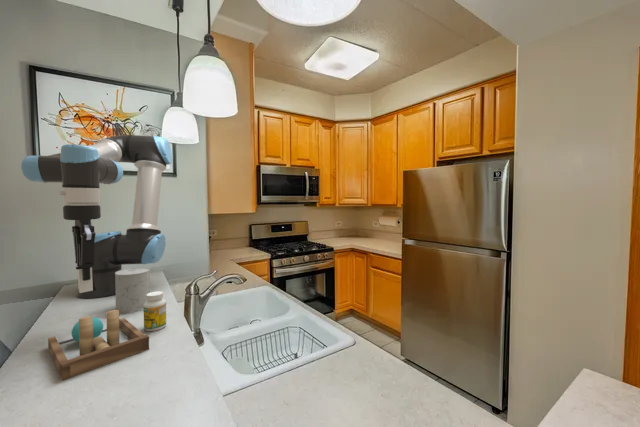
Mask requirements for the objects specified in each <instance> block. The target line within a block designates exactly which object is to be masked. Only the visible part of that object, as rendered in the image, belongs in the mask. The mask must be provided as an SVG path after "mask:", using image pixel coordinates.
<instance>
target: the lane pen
mask: <svg viewBox="0 0 640 427" xmlns="http://www.w3.org/2000/svg"><path fill="white" fill-rule="evenodd" d="M119 330H120V331H122V332H123V333H124V334H125V336H127V337H128V338H129V339H128V340H126V341H123V342H119V344H116V345H113V346H110V347H107V348H104V349H100V350H97V351H95V350H93V352H91V353H88V354H85V355H82V356H80V355H79V356H76V357H73V358H69V359H68V357H66V354H65V353H64V350H63V348H62V347H61V344H59V341H58V339H57V337H56V336H52V337H51V336H50V337H48V338H47V347H48V351H49V353H50V355H51V358H52V361H53V363H54V365H55V368H56V369H57V371H58V374H59V377H60V379H61V381H64V380H67V379H71V378H73V377H75V376H78V375H81V374H84V373H88V372H89V371H92V370H95V369H97V368H100V367H103V366H105V365H108V364H111V363H114V362H117V361H119V360H122V359H125V358H127V357H131V356H133V355H137V354H138V353H139V354H140V353H141V352H145V351H146V350H147V351H148V350H149V349H150V336H149V335H148V334H144V333H143V332H142V331H141V330H139V328H137V327H136V326H135V325H133V324H132V323H131V322H130V321H128V320H127V319H126V318H125V317H123V318H119Z"/></svg>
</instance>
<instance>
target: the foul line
mask: <svg viewBox="0 0 640 427" xmlns="http://www.w3.org/2000/svg"><path fill="white" fill-rule="evenodd" d="M104 332H107V328H105V329H103V330H102V332H101V333H104ZM72 341H75V340H74V339H73V338H70V339H66V340H63V341H60V342H59V341H58V343H59V345H61V344H66V343H69V342H72Z"/></svg>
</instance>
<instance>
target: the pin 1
mask: <svg viewBox="0 0 640 427" xmlns="http://www.w3.org/2000/svg"><path fill="white" fill-rule="evenodd" d="M93 317H94V316H93V315H91V316H83V317H80V318H79V319H78V321H79V342H78V345H79V346H78V347H79V349H78V350H79V352H78V354H79V356H82V355H85V354H88V353H91V352H94V348H93Z"/></svg>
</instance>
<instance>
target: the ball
mask: <svg viewBox="0 0 640 427" xmlns="http://www.w3.org/2000/svg"><path fill="white" fill-rule="evenodd" d="M92 317H93V339H94V338H95V337H100V336H101V334H102V333H103V332H102V330H104V324H103V322H102V320H101V319H100V318H99V317H96V316H95V317H94V316H92ZM71 338H72V339H74V340H73V341H75V342H77V343H79V320H78V321H77V322H76V323H75V324H74V325H73V327H72V329H71Z"/></svg>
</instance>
